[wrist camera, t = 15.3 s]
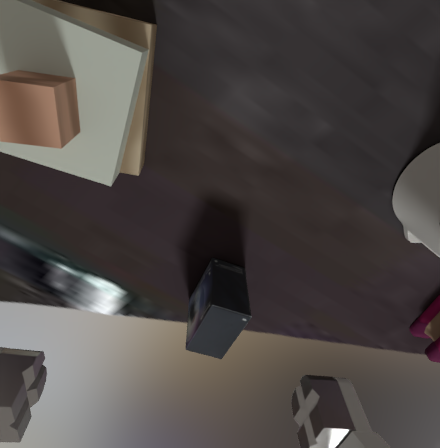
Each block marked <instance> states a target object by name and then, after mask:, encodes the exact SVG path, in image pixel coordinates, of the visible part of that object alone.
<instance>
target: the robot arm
mask: <svg viewBox="0 0 440 448" xmlns="http://www.w3.org/2000/svg"><path fill="white" fill-rule="evenodd" d="M392 203H393V209H394V212H395V214H396V216H397V217H398V219H399V220H400V221H401V222H402V224H403V226H404V235H405V238H406V239H407V240H409V241H410V242H412V243H423V244H424V245H425V246H426V247H427V248H429V249H430V250H431V251H432V252H434V253H435V254H436V255H437V256H438V257H440V143H438V144H436V145H434V146H432V147H430V148H428V149H427V150H425V151H424V152H422V153H421V154H420V155H419V156H417V157H416V158H415V159H414V160H413V161H412V162H411V163H410V164H409V165H408V166H407V167H406V169H405V170H404V171H403V173H402V174H401V176H400V177H399V179H398V181H397V183H396V186H395V188H394V192H393V199H392ZM44 360H45V356H44V352H42V351H31V350H20V349H10V348H2V347H0V442H20V441H21V439H22V437H23V435H24V432H25V430H26V428H27V426H28V423H29V421H30V419H31V412H30V407H32V406H33V405H34V404H35V403H37V402H38V401H39V399H40V396H41V394H42V391H43V389H44V385H45V382H46V375H47V371H46V367H45V366H43V365H42V364H43V362H44ZM300 383H301V386H299V387H297V388H295V390H294V392H293V394H292V402H291V404H292V413H293V417H294V419H295V420H296V422H297V423H298V424H299V426H300V427H299V430H298V432H297V435H298V439H299V444H300V448H391V447H390V446H389V445H388V444H387V443H386V442H385V441H384V440H383V439H382V438H381V437H380V436H379V434H378V433H377V432H372V430H371V428H370V425H369V423H368V420H367V418H366V416H365V413H364V411H363V408H362V406H361V404H360V401H359V399H358V397H357V394H356V392H355V389H354V387H353V385H352V382H351V381H350V380H349V379H346V378H335V377H327V376H313V375H304V376H302V378H301V380H300Z"/></svg>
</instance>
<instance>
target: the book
mask: <svg viewBox="0 0 440 448" xmlns="http://www.w3.org/2000/svg"><path fill="white" fill-rule="evenodd" d="M409 330H410V332H411V333H412V335H413V336H416V337H422V338H428V337H429V338H432V340H433V342H432V343H431V344H430V345H429V346H428V347H427V348H426V349H425V354H426V355H427V357H428V358H429V360H431V361H433V362H440V295H439V296H438V297H437V298H436V299H435V300H434V301H433V302H432V303H431V305H430V306H429V307H428V308H427V309H426V310H425V311H424V312H423V314H422V315H421V316H420V317H419V318H417V319H416V321H415V322H414V323H413V324H412V325H411V326H410V329H409Z"/></svg>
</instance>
